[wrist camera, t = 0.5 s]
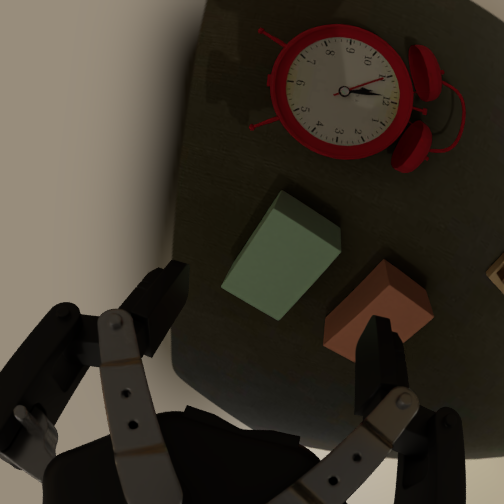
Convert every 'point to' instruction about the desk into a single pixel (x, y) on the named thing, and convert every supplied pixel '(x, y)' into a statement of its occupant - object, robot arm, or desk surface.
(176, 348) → the desk surface
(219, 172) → the desk surface
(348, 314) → the pad terracotta
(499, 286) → the divided wooden tray
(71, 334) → the robot arm
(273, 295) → the pad sage
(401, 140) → the alarm clock
